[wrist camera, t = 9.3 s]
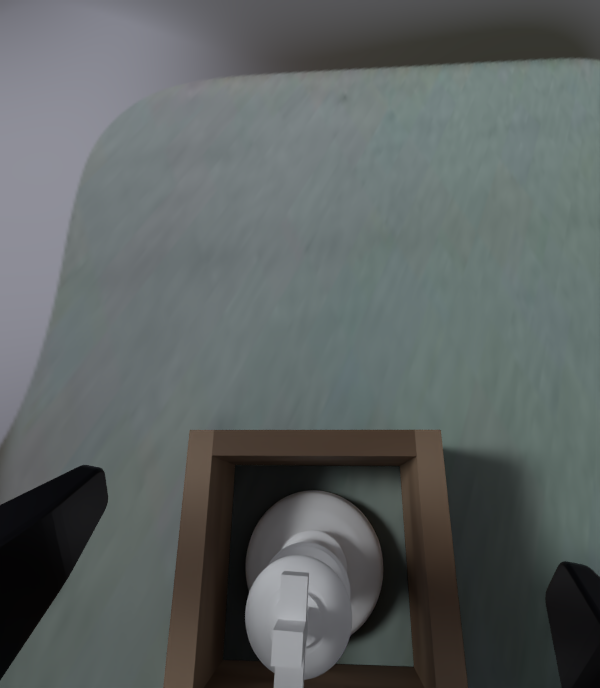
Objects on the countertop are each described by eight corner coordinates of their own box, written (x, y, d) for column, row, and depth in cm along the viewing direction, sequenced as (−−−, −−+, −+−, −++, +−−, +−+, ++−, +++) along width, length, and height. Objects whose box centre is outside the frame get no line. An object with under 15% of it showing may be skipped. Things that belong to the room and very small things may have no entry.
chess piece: (382, 494, 16) (452, 477, 7) (383, 649, 14) (483, 920, 5) (253, 486, 16) (151, 461, 7) (239, 636, 15) (79, 861, 5)
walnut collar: (441, 697, 14) (475, 757, 10) (197, 687, 14) (157, 741, 11) (419, 444, 17) (440, 429, 13) (216, 444, 17) (189, 430, 14)
